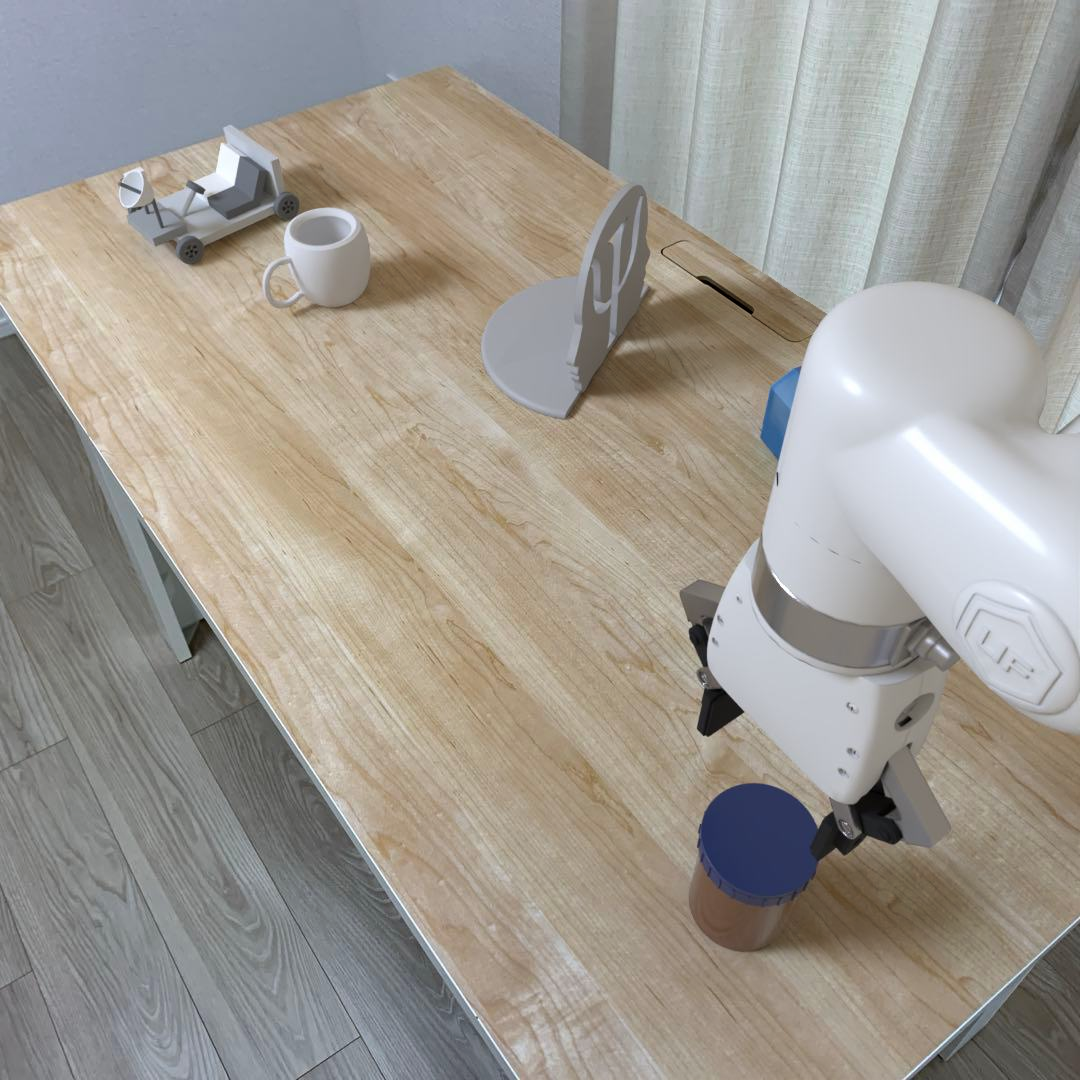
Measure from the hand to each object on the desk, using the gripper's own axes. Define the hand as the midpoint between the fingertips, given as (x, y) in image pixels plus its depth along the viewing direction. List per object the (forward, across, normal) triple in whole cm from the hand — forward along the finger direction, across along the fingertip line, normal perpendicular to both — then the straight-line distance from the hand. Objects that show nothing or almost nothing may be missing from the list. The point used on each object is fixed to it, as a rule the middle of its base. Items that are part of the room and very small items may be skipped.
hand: (776, 777), depth 55 cm
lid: (+7, 0, 0) cm, 7 cm away
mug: (+18, +72, -8) cm, 75 cm away
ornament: (+18, +54, -24) cm, 61 cm away
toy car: (+18, +92, -4) cm, 94 cm away
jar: (+17, 0, 0) cm, 17 cm away
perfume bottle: (+17, +26, -33) cm, 46 cm away
